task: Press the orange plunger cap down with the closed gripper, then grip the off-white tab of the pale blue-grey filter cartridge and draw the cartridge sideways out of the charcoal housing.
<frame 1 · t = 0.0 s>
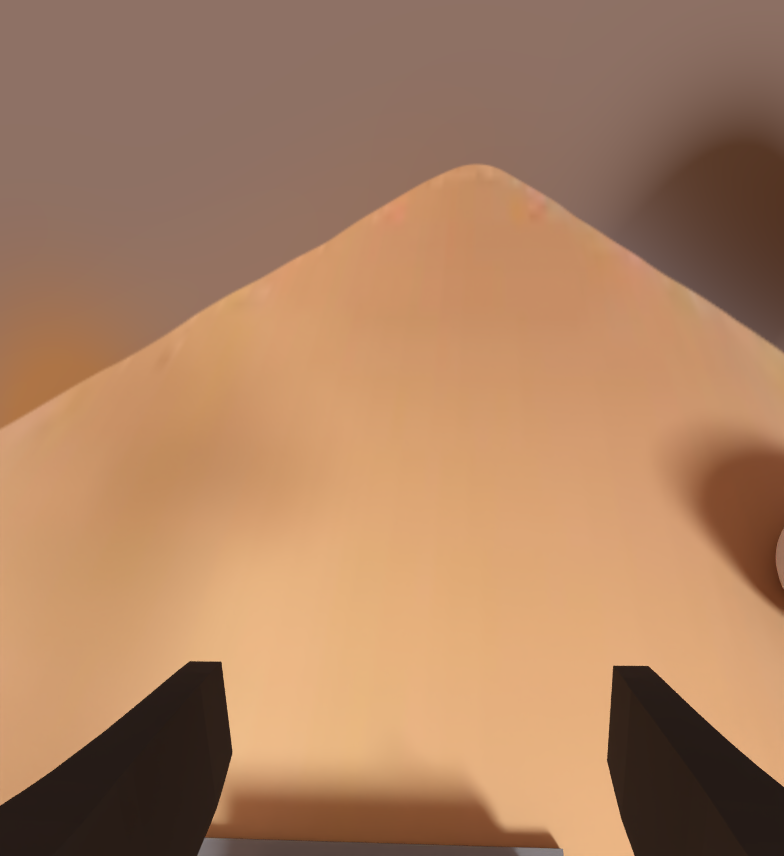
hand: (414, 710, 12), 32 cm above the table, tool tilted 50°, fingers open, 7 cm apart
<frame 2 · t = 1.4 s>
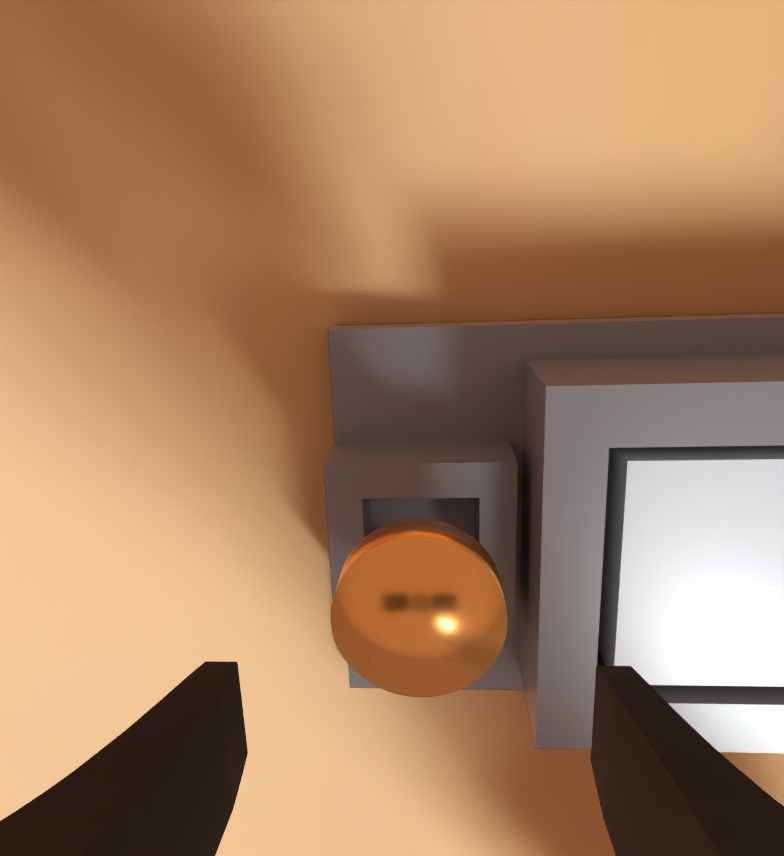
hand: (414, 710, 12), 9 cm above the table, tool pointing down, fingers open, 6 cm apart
plunger: (420, 586, 16), point 5 cm above the table, slide at 0.0 cm
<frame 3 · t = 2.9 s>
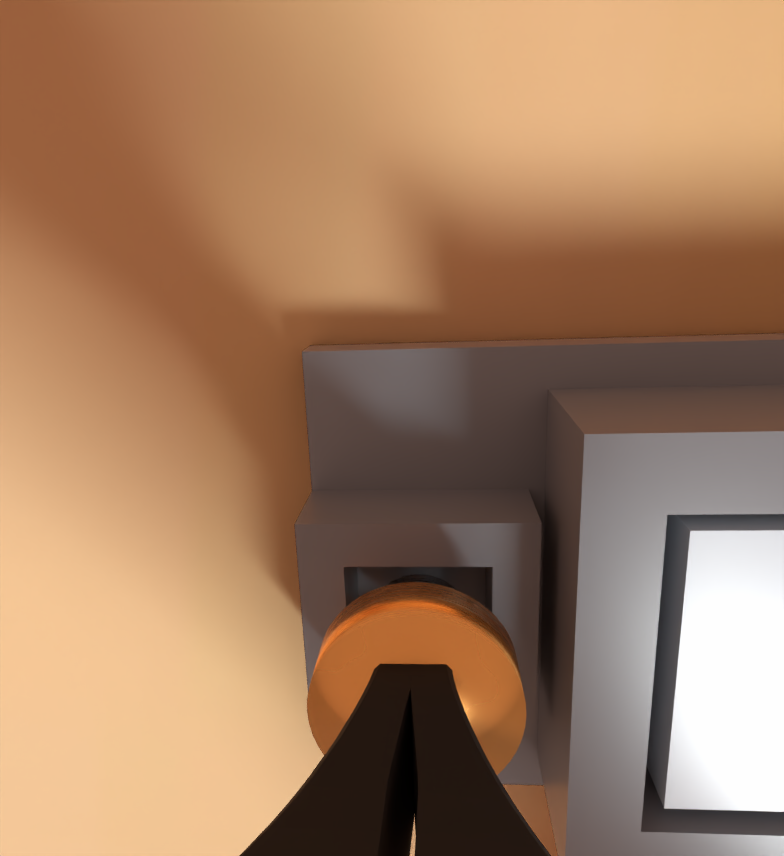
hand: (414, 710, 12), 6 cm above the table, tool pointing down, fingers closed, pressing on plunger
plunger: (417, 659, 13), point 4 cm above the table, slide at 0.9 cm, touching gripper
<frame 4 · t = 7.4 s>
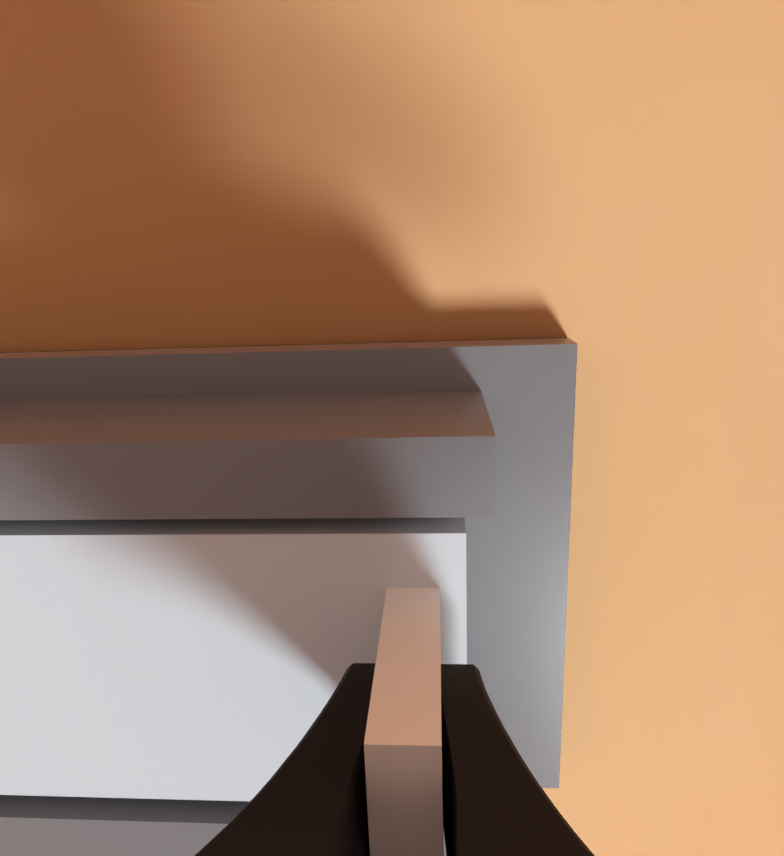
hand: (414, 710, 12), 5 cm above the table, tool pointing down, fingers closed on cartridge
cartridge: (135, 688, 13), point 5 cm above the table, slide at 0.0 cm, touching gripper
housing: (217, 569, 17), on the table
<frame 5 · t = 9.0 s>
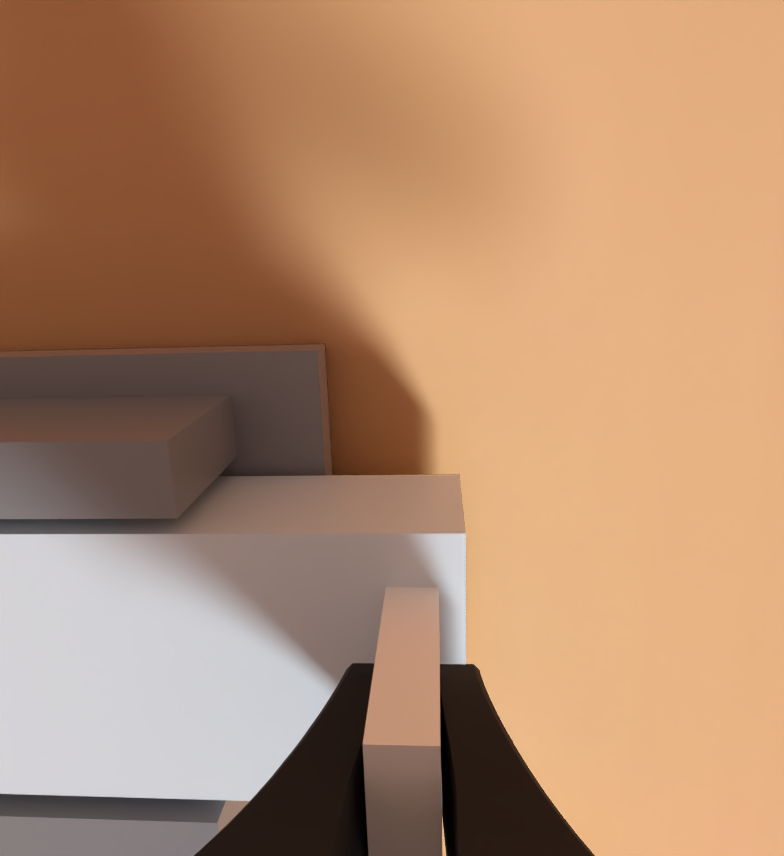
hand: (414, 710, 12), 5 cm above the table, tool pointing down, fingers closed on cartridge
cartridge: (134, 687, 13), point 5 cm above the table, slide at 5.8 cm, touching gripper
housing: (12, 567, 18), on the table
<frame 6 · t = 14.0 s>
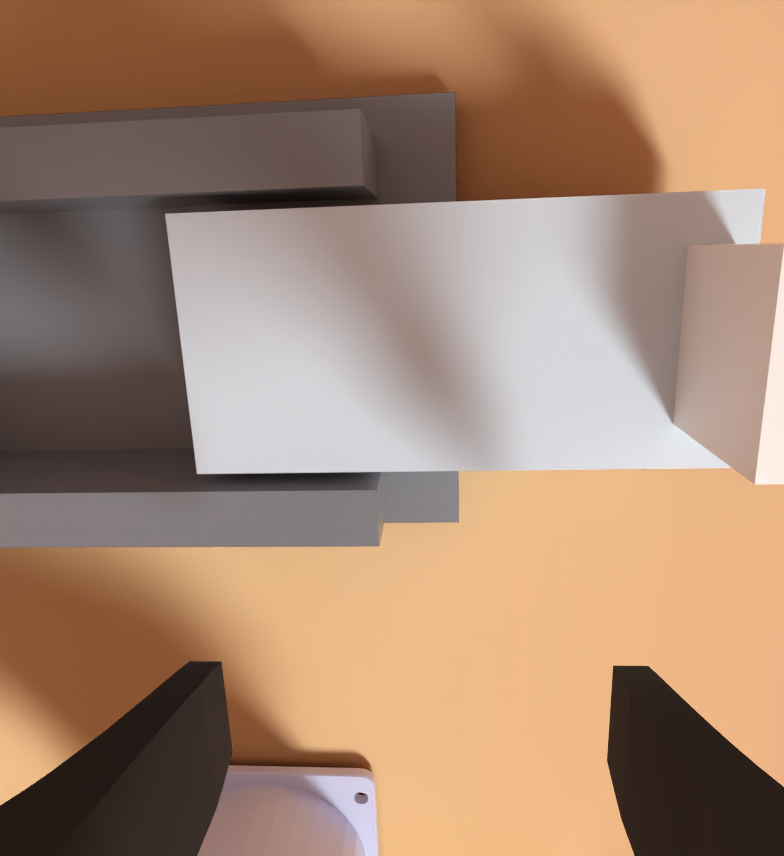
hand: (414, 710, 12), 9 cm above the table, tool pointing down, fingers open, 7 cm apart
cartridge: (457, 346, 14), point 5 cm above the table, slide at 9.0 cm
housing: (159, 330, 20), on the table
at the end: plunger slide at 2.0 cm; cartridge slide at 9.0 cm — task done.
